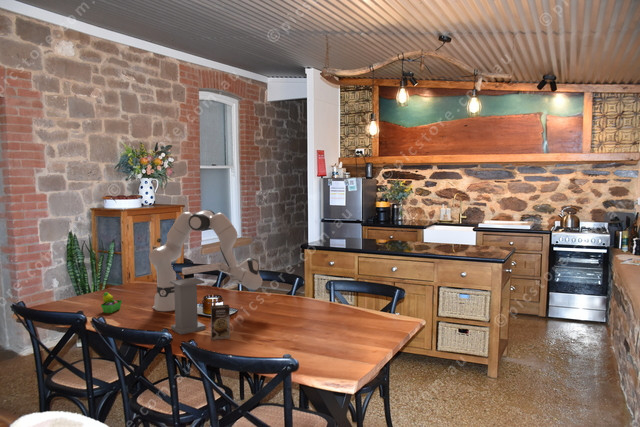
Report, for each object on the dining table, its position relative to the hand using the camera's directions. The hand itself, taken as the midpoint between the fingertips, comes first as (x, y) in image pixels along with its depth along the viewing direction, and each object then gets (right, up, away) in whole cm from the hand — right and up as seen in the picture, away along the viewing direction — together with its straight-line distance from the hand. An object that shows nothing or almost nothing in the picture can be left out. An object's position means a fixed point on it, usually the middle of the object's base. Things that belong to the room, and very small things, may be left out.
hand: (218, 265), depth 275 cm
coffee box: (+5, -34, -22) cm, 41 cm away
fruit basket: (-70, -30, +26) cm, 81 cm away
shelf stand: (-14, -33, -9) cm, 37 cm away
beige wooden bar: (-7, -2, -5) cm, 9 cm away
